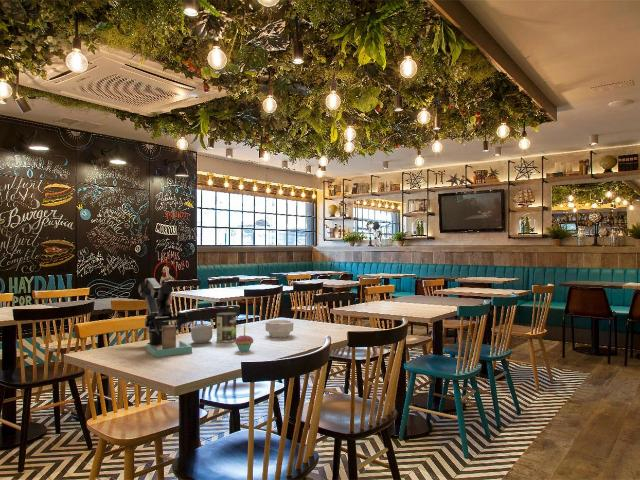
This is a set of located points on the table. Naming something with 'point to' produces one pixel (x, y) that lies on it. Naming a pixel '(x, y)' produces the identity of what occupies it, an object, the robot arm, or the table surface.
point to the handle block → (168, 336)
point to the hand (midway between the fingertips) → (169, 333)
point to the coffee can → (226, 326)
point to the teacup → (201, 333)
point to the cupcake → (244, 342)
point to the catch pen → (170, 350)
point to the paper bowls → (279, 327)
